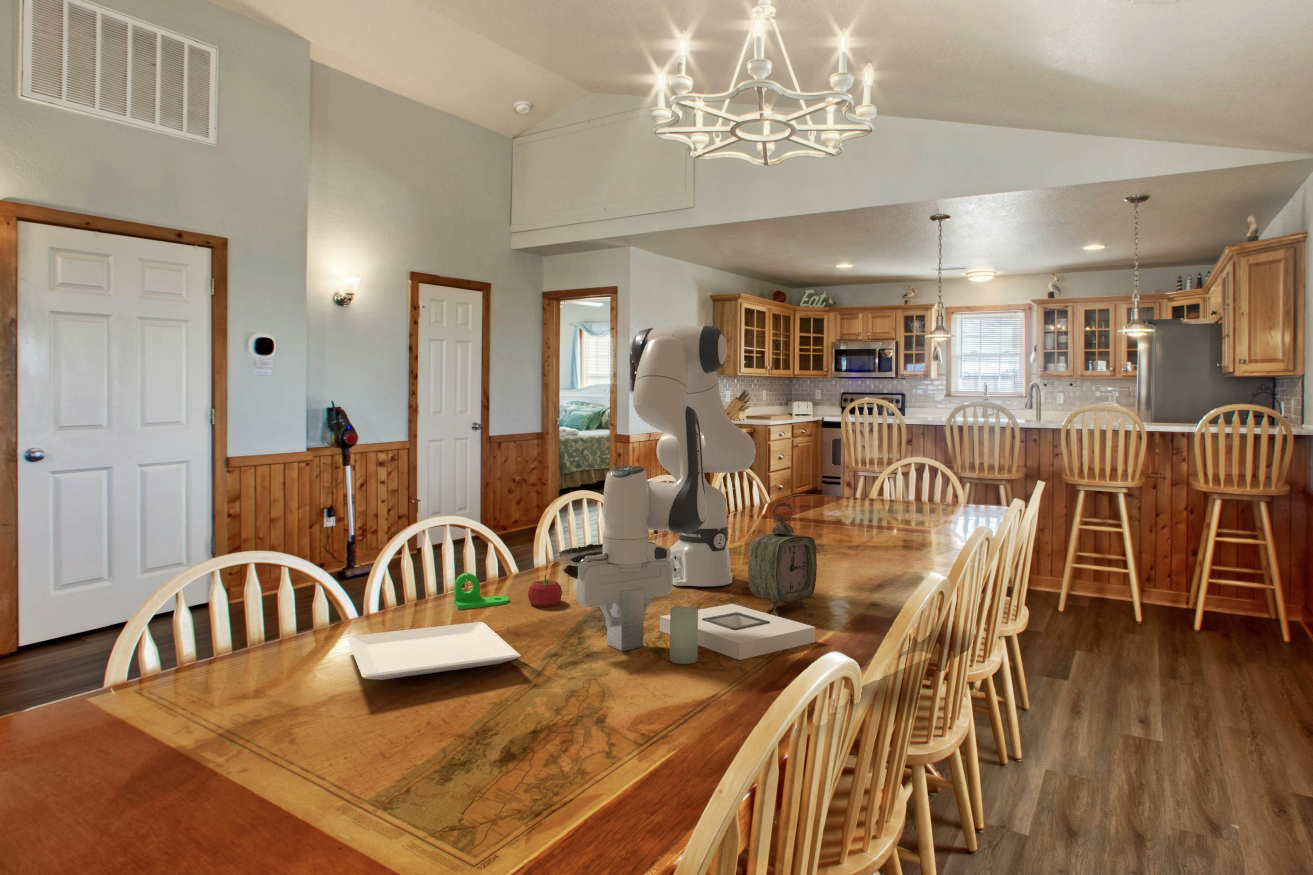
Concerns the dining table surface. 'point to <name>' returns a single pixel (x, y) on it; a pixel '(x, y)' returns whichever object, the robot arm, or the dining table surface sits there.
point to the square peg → (627, 621)
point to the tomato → (544, 593)
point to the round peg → (684, 635)
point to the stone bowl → (579, 555)
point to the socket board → (746, 631)
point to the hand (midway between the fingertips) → (625, 623)
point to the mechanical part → (474, 594)
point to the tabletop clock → (782, 564)
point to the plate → (428, 650)
